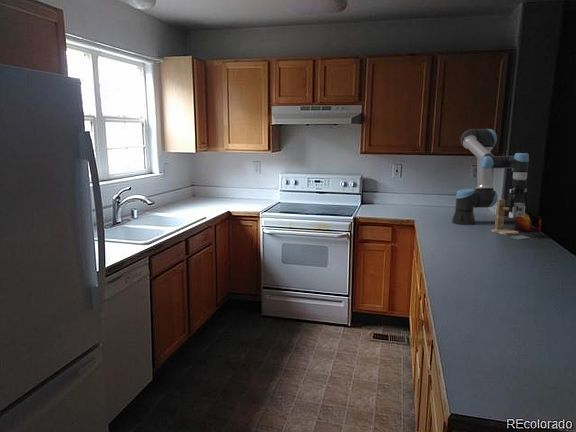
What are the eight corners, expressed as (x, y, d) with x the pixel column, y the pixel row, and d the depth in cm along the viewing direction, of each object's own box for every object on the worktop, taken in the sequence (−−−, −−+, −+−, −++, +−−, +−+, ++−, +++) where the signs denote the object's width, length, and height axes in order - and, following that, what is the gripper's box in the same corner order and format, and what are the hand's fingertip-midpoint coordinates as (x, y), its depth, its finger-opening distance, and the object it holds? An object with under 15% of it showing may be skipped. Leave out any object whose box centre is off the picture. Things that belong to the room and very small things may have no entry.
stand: (490, 231, 273) (493, 200, 270) (502, 229, 277) (505, 199, 273) (507, 235, 262) (510, 202, 258) (520, 234, 265) (522, 201, 261)
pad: (510, 237, 256) (510, 236, 256) (521, 236, 259) (521, 235, 259) (518, 239, 250) (519, 238, 250) (530, 238, 253) (530, 237, 253)
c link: (513, 217, 258) (514, 204, 256) (509, 216, 260) (510, 203, 259) (523, 216, 261) (524, 203, 259) (519, 215, 263) (520, 202, 262)
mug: (540, 232, 269) (542, 213, 267) (516, 231, 273) (518, 212, 271) (536, 229, 279) (538, 210, 276) (512, 228, 282) (514, 210, 280)
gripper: (511, 180, 249) (508, 219, 253) (538, 179, 257) (534, 216, 261) (501, 179, 256) (498, 217, 260) (527, 178, 264) (523, 214, 268)
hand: (516, 216), depth 261 cm, fingers closed on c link, 8 cm apart
